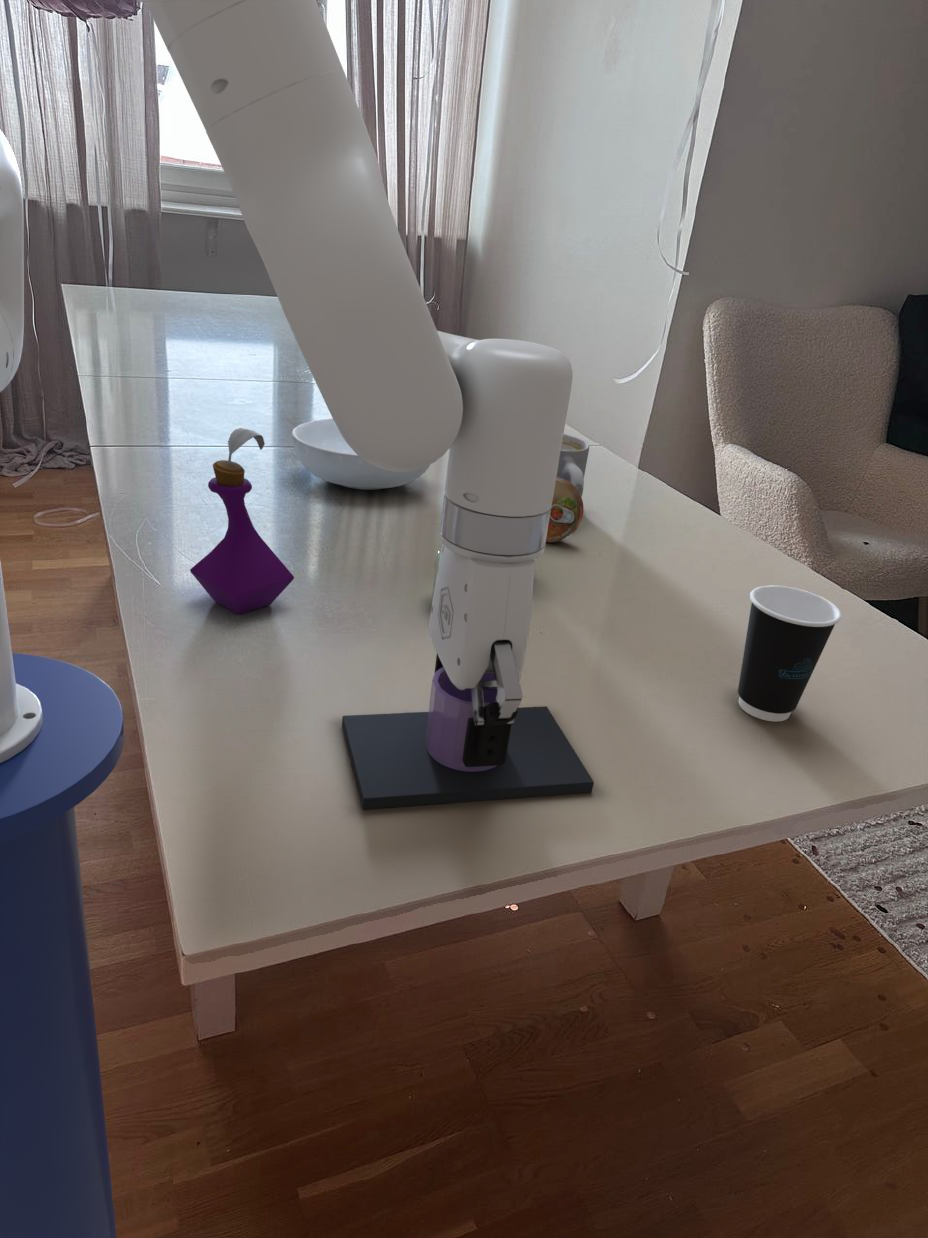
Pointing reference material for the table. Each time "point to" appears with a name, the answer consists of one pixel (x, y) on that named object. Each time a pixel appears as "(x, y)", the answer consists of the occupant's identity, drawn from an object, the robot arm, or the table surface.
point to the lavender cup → (451, 720)
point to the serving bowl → (342, 459)
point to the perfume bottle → (240, 544)
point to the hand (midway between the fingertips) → (466, 727)
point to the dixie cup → (782, 648)
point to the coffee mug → (573, 461)
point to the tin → (564, 511)
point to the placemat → (409, 776)
